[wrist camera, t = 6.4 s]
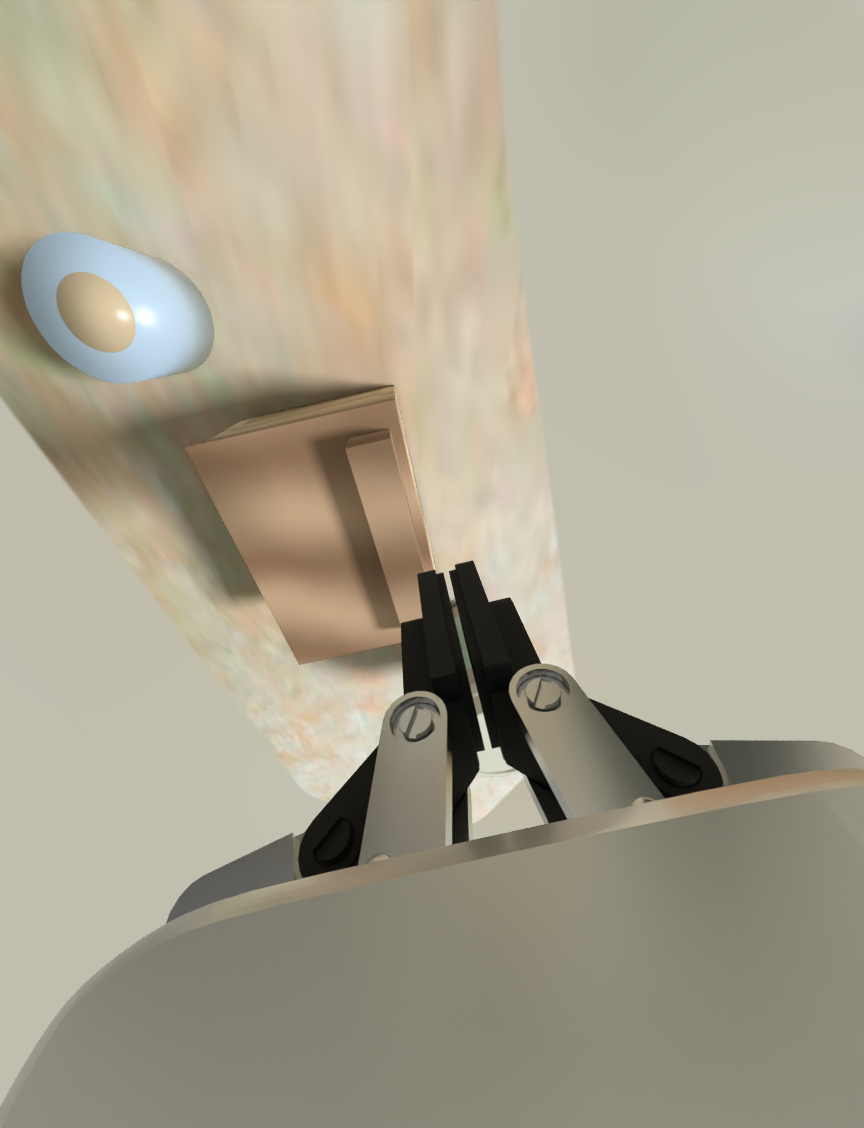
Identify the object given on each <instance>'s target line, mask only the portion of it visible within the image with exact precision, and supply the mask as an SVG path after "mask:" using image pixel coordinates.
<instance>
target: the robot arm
mask: <svg viewBox="0 0 864 1128" xmlns="http://www.w3.org/2000/svg"><path fill="white" fill-rule="evenodd" d="M455 568H456V570H452V571H449V574H450V578H451V582H452V587H453V591H454V595H455V600H456V604H457V609H458V613H459V617H460V622H461V626H462V630H463V635H464V639H465V643H466V647H467V651H468V655H469V659H470V663H471V667H472V671H473V675H474V679H475V683H476V687H477V691H478V695H479V699H480V703H481V707H482V711H483V715H484V719H485V723H486V727H487V731H488V735H489V739H490V743H491V747H492V749H493V748H498V747H500V749H501V752H502V756H503V760H505V762H506V764H507V765H509V766H511V767H512V768H514V769H516V770H517V771H519V772H521V773H522V774H523V778H524V780H525V783H526V785H527V787H528V790H529V792H530V793H531V796H532V798H533V800H534V802H535V804H536V806H537V809H538V811H539V813H540V815H541V817H542V819H543V821H544V824H545V825H540V826H536V827H531V828H526V829H522V830H517V831H512V832H508V833H503V834H499V835H494V836H489V837H485V838H480V839H476V840H473V834H472V807H471V790H470V784H471V782H472V781H473V779H474V778H475V776H476V775H477V773H478V772H479V770H480V768H479V766H480V763H479V759H478V754H477V752H480V751H485V747H484V743H483V739H482V734H481V730H480V726H479V722H478V717H477V713H476V709H475V705H474V700H473V696H472V692H471V687H470V683H469V679H468V675H467V670H466V666H465V662H464V658H463V653H462V649H461V645H460V641H459V636H458V632H457V628H456V624H455V620H454V616H453V611H452V607H451V603H450V599H449V595H448V590H447V586H446V582H445V578H444V574H443V573H439V574H436V571H435V570H431V571H426V572H422V573H418V574H417V578H418V586H419V594H420V602H421V610H422V618H419V619H415V620H411V621H407V622H402V623H401V644H402V666H403V687H404V695H403V696H402V697H400V698H398V699H397V700H396V701H395V702H394V703H392V704H391V706H390V707H389V709H388V710H387V711H386V713H385V716H384V719H383V723H382V729H381V735H380V741H379V745H378V746H377V748H376V749H375V750H374V751H373V752H372V753H371V754H370V756H369V757H368V758H367V759H366V760H365V761H364V762H363V764H362V765H361V766H360V767H359V768H358V769H357V771H356V772H355V773H354V774H353V775H352V776H351V777H350V779H349V780H348V781H347V782H346V783H345V784H344V785H343V787H342V788H341V789H340V790H339V791H338V792H337V793H336V795H335V796H334V797H333V798H332V799H331V800H330V802H329V803H328V804H327V805H326V806H325V807H324V808H323V810H322V811H321V812H320V813H319V814H318V815H317V816H316V818H315V819H314V820H313V821H312V823H311V824H310V826H309V827H308V829H307V830H306V832H304V833H302V834H300V835H298V836H295V835H294V834H293V833H291V834H289V835H287V836H285V837H283V838H281V839H279V840H276V841H274V842H272V843H270V844H268V845H266V846H264V847H262V848H260V849H258V850H255V851H254V852H251V853H250V854H248V855H245V856H243V857H241V858H239V859H237V860H235V861H233V862H231V863H229V864H226V865H224V866H222V867H220V868H218V869H216V870H214V871H212V872H210V873H208V874H206V875H204V876H202V877H201V878H199V879H198V880H196V881H195V882H193V883H192V884H191V885H190V886H189V887H188V888H187V889H186V890H185V891H184V892H183V893H182V895H181V896H180V897H179V898H178V900H177V902H176V903H175V905H174V907H173V908H172V910H171V912H170V914H169V917H168V920H167V923H166V924H165V925H163V926H162V927H160V928H158V929H157V930H155V931H153V932H152V933H150V934H148V935H147V936H145V937H143V938H142V939H140V940H139V941H137V942H136V943H135V944H133V945H132V946H130V947H129V948H128V949H126V950H125V951H124V952H122V953H121V954H119V955H118V956H117V957H115V958H114V959H113V960H112V961H110V962H109V963H108V964H106V965H105V966H104V967H103V968H101V969H100V970H99V971H98V972H97V973H96V974H95V975H93V976H92V977H91V978H90V979H89V980H88V981H87V982H86V983H85V984H84V985H82V987H81V988H80V989H79V990H78V991H77V992H76V993H75V994H74V995H73V996H72V997H71V998H70V1000H68V1001H67V1003H66V1004H65V1005H64V1006H63V1008H62V1009H61V1010H60V1012H59V1013H58V1015H57V1016H56V1017H55V1018H54V1019H53V1021H52V1022H51V1023H50V1025H49V1026H48V1028H47V1029H46V1031H45V1033H44V1034H43V1035H42V1037H41V1038H40V1040H39V1042H38V1043H37V1044H36V1046H35V1048H34V1049H33V1051H32V1053H31V1054H30V1056H29V1057H28V1059H27V1061H26V1063H25V1064H24V1066H23V1067H22V1069H21V1071H20V1072H19V1074H18V1076H17V1078H16V1079H15V1081H14V1083H13V1085H12V1087H11V1088H10V1090H9V1092H8V1094H7V1096H6V1097H5V1099H4V1101H3V1103H2V1104H1V1106H0V1128H864V757H862V756H860V755H859V754H857V753H856V752H854V751H852V750H850V749H847V748H845V747H842V746H839V745H837V744H834V743H828V742H821V741H746V740H745V741H744V740H740V741H739V740H730V741H729V740H710V743H709V745H697V744H695V743H693V742H691V741H689V740H688V739H686V738H684V737H681V736H679V735H677V734H674V733H672V732H669V731H667V730H665V729H662V728H660V727H657V726H655V725H652V724H650V723H648V722H645V721H643V720H640V719H638V718H635V717H633V716H631V715H628V714H626V713H623V712H621V711H619V710H616V709H614V708H611V707H609V706H606V705H604V704H602V703H599V702H597V701H594V700H592V699H590V698H588V697H587V696H586V694H585V693H584V691H583V690H582V689H581V688H580V686H579V685H578V684H577V682H576V681H575V680H574V678H573V677H572V676H571V675H570V674H569V673H568V672H567V671H565V670H563V669H561V668H559V667H558V666H554V665H550V664H541V662H540V660H539V658H538V656H537V654H536V651H535V649H534V647H533V645H532V643H531V641H530V638H529V636H528V634H527V632H526V630H525V628H524V625H523V623H522V621H521V619H520V617H519V615H518V612H517V610H516V608H515V606H514V604H513V602H512V600H511V598H510V597H509V598H505V599H501V600H496V601H492V602H488V599H487V596H486V594H485V591H484V588H483V586H482V583H481V580H480V578H479V575H478V572H477V570H476V567H475V564H474V562H473V561H469V562H464V563H460V564H456V565H455Z"/></svg>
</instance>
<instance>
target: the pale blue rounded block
mask: <svg viewBox="0 0 864 1128" xmlns="http://www.w3.org/2000/svg"><path fill="white" fill-rule="evenodd" d="M21 285H22V292H23V297H24V301H25V304H26V307H27V310H28V312H29V314H30V316H31V319H32V320H33V322H34V324H35V326H36V328H37V329H38V331H39V332H40V333H41V335H42V336H43V338H44V339H45V340H46V341H47V343H48V344H49V345H50V346H51V347H52V348H53V349H54V350H55V351H56V352H57V353H58V354H59V355H60V356H61V357H62V358H63V359H64V360H66V361H67V362H68V363H70V364H71V365H72V366H74V367H75V368H77V369H78V370H80V371H82V372H83V373H85V374H87V375H90V376H92V377H94V378H97V379H99V380H102V381H107V382H111V383H119V384H124V383H134V382H139V381H145V380H150V379H155V378H160V377H166V376H171V375H176V374H182V373H187V372H190V371H193V370H194V369H196V368H198V367H199V366H201V365H202V364H203V363H204V362H205V361H206V359H207V358H208V356H209V354H210V352H211V349H212V346H213V340H214V327H213V321H212V317H211V313H210V311H209V308H208V306H207V304H206V301H205V299H204V298H203V296H202V294H201V293H200V291H199V290H198V289H197V287H196V286H195V285H194V284H193V282H192V281H191V280H190V279H189V278H188V277H187V276H186V275H185V274H183V273H182V272H181V271H180V270H178V269H177V268H176V267H174V266H172V265H171V264H169V263H167V262H165V261H163V260H160V259H157V258H154V257H151V256H148V255H145V254H142V253H139V252H136V251H133V250H130V249H127V248H124V247H121V246H118V245H115V244H112V243H109V242H106V241H102V240H99V239H96V238H93V237H90V236H87V235H84V234H79V233H73V232H60V233H53V234H50V235H47V236H45V237H43V238H41V239H40V240H38V241H37V242H36V243H35V244H34V245H33V246H32V247H31V248H30V250H29V251H28V252H27V254H26V257H25V259H24V262H23V266H22V272H21Z"/></svg>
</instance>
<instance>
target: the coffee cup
mask: <svg viewBox="0 0 864 1128" xmlns="http://www.w3.org/2000/svg"><path fill="white" fill-rule="evenodd" d="M452 611H453V616H454V620H455V624H456V628H457V632H458V636H459V641H460V645H461V649H462V653H463V658H464V662H465V666H466V670H467V675H468V679H469V683H470V687H471V692H472V696H473V700H474V705H475V709H476V713H477V717H478V722H479V726H480V730H481V734H482V739H483V743H484V747H485V751H480V752H477V754H478V759H479V763H480V766H479V768H480V770H479V772H478V773H477V775H476V776H480V777H504V776H509V775H514V774H517V773H520V772H519V771H517V770H516V769H514V768H512V767H511V766H509V765H507V764H506V762H505V760H503V756H502V752H501V749H500V747H498V748H493V749H492V747H491V743H490V739H489V735H488V731H487V727H486V723H485V719H484V715H483V711H482V707H481V703H480V699H479V695H478V691H477V687H476V683H475V679H474V675H473V671H472V667H471V663H470V659H469V655H468V651H467V647H466V643H465V639H464V635H463V630H462V626H461V622H460V617H459V613H458V609H457V605H456V606H455V607H453V608H452Z"/></svg>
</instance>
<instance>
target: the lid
mask: <svg viewBox="0 0 864 1128" xmlns="http://www.w3.org/2000/svg"><path fill="white" fill-rule="evenodd" d="M184 449H185V450H186V452H187V454H188V456H189V458H190V460H191V462H192V464H193V466H194V467H195V469H196V471H197V473H198V475H199V477H200V479H201V481H202V482H203V484H204V486H205V488H206V490H207V492H208V494H209V496H210V498H211V499H212V501H213V503H214V505H215V507H216V509H217V511H218V513H219V514H220V516H221V518H222V520H223V522H224V524H225V526H226V528H227V530H228V531H229V533H230V535H231V537H232V539H233V541H234V543H235V545H236V546H237V548H238V550H239V552H240V554H241V556H242V558H243V560H244V562H245V563H246V565H247V567H248V569H249V571H250V573H251V575H252V577H253V578H254V580H255V582H256V584H257V586H258V588H259V590H260V592H261V594H262V595H263V597H264V599H265V601H266V603H267V605H268V607H269V609H270V610H271V612H272V614H273V616H274V618H275V620H276V622H277V624H278V626H279V627H280V629H281V631H282V633H283V635H284V637H285V639H286V641H287V642H288V644H289V646H290V648H291V650H292V652H293V654H294V656H295V658H296V659H297V661H298V663H299V665H301V664H306V663H310V662H315V661H319V660H324V659H329V658H333V657H338V656H342V655H347V654H352V653H356V652H361V651H366V650H370V649H375V648H379V647H384V646H389V645H393V644H398V643H401V623H402V622H407V621H411V620H415V619H419V618H422V610H421V602H420V594H419V586H418V578H417V574H418V573H422V572H426V571H431V570H434V568H433V564H432V560H431V555H430V551H429V547H428V542H427V538H426V534H425V529H424V525H423V521H422V516H421V512H420V508H419V504H418V499H417V495H416V491H415V486H414V482H413V478H412V473H411V469H410V465H409V460H408V456H407V452H406V447H405V443H404V439H403V435H402V430H401V426H400V422H399V417H398V413H397V409H396V404H395V400H394V398H390V399H385V400H381V401H376V402H372V403H368V404H363V405H359V406H355V407H350V408H346V409H342V410H337V411H333V412H329V413H324V414H320V415H315V416H311V417H307V418H302V419H298V420H294V421H289V422H285V423H281V424H276V425H272V426H267V427H263V428H259V429H254V430H250V431H246V432H241V433H237V434H233V435H228V436H224V437H220V438H215V439H211V440H206V441H202V442H198V443H193V444H191V445H189V446H187V447H185V448H184Z"/></svg>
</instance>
